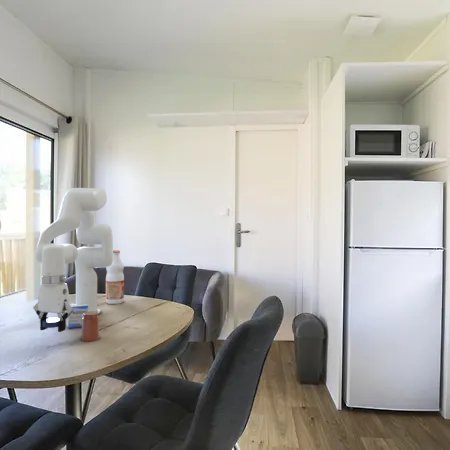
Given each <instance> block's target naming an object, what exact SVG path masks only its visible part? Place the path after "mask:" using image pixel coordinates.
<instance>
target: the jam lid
mask: <svg viewBox="0 0 450 450" xmlns="http://www.w3.org/2000/svg"><path fill="white" fill-rule="evenodd" d="M59 320H60V319H59V317H48V319H45V320H43V327H45V328H47V329H54V328H58V321H59Z"/></svg>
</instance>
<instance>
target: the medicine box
mask: <svg viewBox="0 0 450 450" xmlns="http://www.w3.org/2000/svg"><path fill="white" fill-rule="evenodd" d="M69 305H70V306H71V307H72V308H73V311H72V313H71V314H70V315H69V316H68V318H67V319H66V327H67V328H68V329H74V328H82V317H83V313H85V312H88V305H87V304H80V305H71V304H69Z"/></svg>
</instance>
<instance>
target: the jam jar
mask: <svg viewBox="0 0 450 450" xmlns="http://www.w3.org/2000/svg"><path fill="white" fill-rule="evenodd" d="M99 338H100V316H99V314H98V312H85V313H83V317H82V327H81V341H83V342H94V341H97V340H99Z"/></svg>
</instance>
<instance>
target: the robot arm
mask: <svg viewBox="0 0 450 450" xmlns="http://www.w3.org/2000/svg"><path fill="white" fill-rule="evenodd" d="M107 199H108V197H107V192H106V191H105V190H104V189H103V188H98V187H97V188H96V187H95V188H94V187H92V188H91V187H72V188H68V189H67V190H66V191H65V193H64V195H63V198H62V200H61V204H60V209H59V212H58V215H57V218H56V220H55V221H53V222H52V223H51V224H49V225H48V226H47V227H46V228H45V229H44V230H43V231H42V232H41V234H40V235H39V239H38V241H37V245H36V248H35V259H36V260H37V262H38V263H40V264H41V283H40V285H39V289H38V294H37V295H38V296H37V303H35V305H34V306H33V307H32V308H33V310H34V311H35V314H36V315H37V316H38V319H39V329H40V331H44V330H47V329H48V328H45V327H43V320H45V319H48V318H49V317H48V314H49V313H50V314H57V316H58V317H57V318H59V319H60V320H59V321H58V327H57V332H58V333H63V332H64V331H66V329H67V328H66V327H67V318H68V316H69V315H70V314H71V313H72V311H73V308H72V307H71V306H70V305H80V304H87V305H88V312H98V315H99V314H101V309H100V308H98V275H97V272H96V271H95V269H94V268H106V267H108V266H110V265H111V264H112V262H113V250H114V243H113V241H114V240H113V238H114V237H113V230H112V227H111V226H110V225H108V224H104V223H96V213H95V212H97V211H99V210H101V209H102V208H104V207H105V205H106V204H107V201H108V200H107ZM75 230H76V231H75ZM73 231H75V235H76V240H77V242H78V243H79V244H82V245H100V246H79V247H77V246H76V245H75V244H72V243H56V242H55V243H54V242H53V243H52V241H54V240H55V239H56V238H57V237H60V236H62V235H66V234H68V233H70V232H73ZM72 263H74V266H75V303H70V292H69V286H68V284H67V283H66V282H67V281H68V277H66V264H67V265H68V264H72Z"/></svg>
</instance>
